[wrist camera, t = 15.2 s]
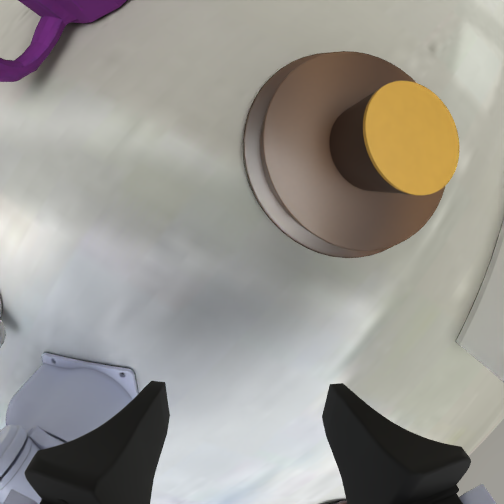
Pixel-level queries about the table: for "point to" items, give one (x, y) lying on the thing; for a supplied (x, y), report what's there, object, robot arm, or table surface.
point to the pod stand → (323, 159)
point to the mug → (52, 30)
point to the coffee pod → (396, 141)
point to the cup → (1, 327)
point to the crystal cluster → (341, 502)
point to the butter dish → (488, 316)
